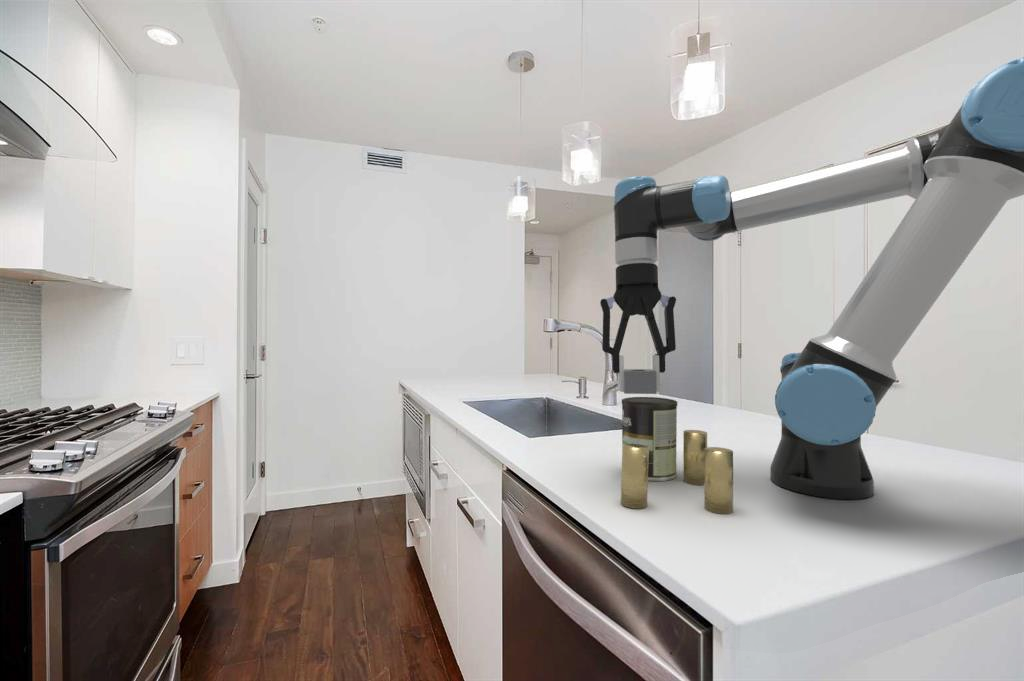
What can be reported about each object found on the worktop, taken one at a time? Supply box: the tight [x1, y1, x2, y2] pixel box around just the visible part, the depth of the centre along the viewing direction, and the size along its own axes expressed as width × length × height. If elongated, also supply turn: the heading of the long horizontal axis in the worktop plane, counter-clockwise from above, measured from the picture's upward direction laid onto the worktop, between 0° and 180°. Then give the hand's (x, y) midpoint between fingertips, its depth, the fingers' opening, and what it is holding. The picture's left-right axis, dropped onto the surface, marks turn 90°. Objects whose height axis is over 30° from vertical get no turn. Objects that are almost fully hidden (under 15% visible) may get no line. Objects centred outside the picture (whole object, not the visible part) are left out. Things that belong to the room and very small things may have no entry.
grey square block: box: [623, 368, 657, 395], centre depth 85 cm, size 6×6×4 cm
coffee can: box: [621, 396, 679, 482], centre depth 89 cm, size 10×10×14 cm
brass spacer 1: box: [620, 444, 649, 509], centre depth 73 cm, size 4×4×9 cm
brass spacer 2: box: [682, 429, 708, 486], centre depth 84 cm, size 4×4×9 cm
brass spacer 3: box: [703, 446, 734, 515], centre depth 71 cm, size 4×4×9 cm
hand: (639, 390), depth 85 cm, fingers closed on grey square block, 5 cm apart
